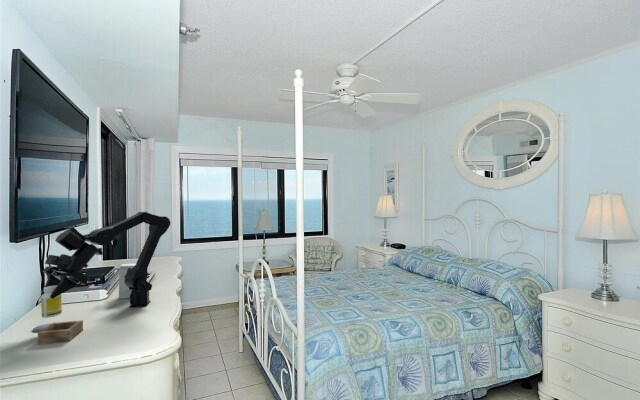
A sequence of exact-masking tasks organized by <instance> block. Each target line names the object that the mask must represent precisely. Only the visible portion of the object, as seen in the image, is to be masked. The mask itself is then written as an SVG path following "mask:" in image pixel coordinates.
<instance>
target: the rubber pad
mask: <svg viewBox="0 0 640 400" xmlns="http://www.w3.org/2000/svg"><path fill="white" fill-rule="evenodd" d="M52 323H53V322H51V323H45V324H41V325H38V326H35V327H33V328H32V332H33V331H34V332H33V333H39V332H40V331H42V330H43V329H45V328H46V327H48V326H49V325H51V324H52Z"/></svg>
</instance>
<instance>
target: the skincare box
mask: <svg viewBox="0 0 640 400" xmlns="http://www.w3.org/2000/svg"><path fill="white" fill-rule="evenodd" d="M135 265H136V263H123V264H121V265H119V277H118V278H119V279H118V300H119V299H120V300H121V299H130V295H131V291H132V290H129V287H128V286H126V285H125V282H124V280H125V278H124V276H125V275H126V273H127V270H128V268H131V269H132V268H133V267H134V266H135Z"/></svg>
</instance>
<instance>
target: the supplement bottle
mask: <svg viewBox="0 0 640 400" xmlns="http://www.w3.org/2000/svg"><path fill="white" fill-rule="evenodd" d="M56 287H57V285H55V286H48V287H45V286H44V287H43V289H44V292H45V293H44V294H43V295H42V296H41V295H40V301H41V303H40V304H41V317H42V318H45V319H46V318H54V317H57V316H60V315H61V314H62V313H63V312H62V311H63V309H62V308H63V305H62V294H60V295H58V296H57V297H55V298H53V299H52V298H50V295H51V294H52V292H53V291H54V290H55V288H56Z"/></svg>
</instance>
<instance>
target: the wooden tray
mask: <svg viewBox="0 0 640 400" xmlns="http://www.w3.org/2000/svg"><path fill="white" fill-rule="evenodd" d="M51 323H52V324H51V325H49V326H48V327H46V328H45V329H43V330H42V331H40V332H37V344H38V345H45V344H54V343H66V342H67V343H68V342H71V341H72V340H73V339H75V338H76V337H78V335H79V334H81V333H82V332H83V331H84V320H83V319H82V320H70V321H69V320H68V321H59V322H58V321H57V322H51Z"/></svg>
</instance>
